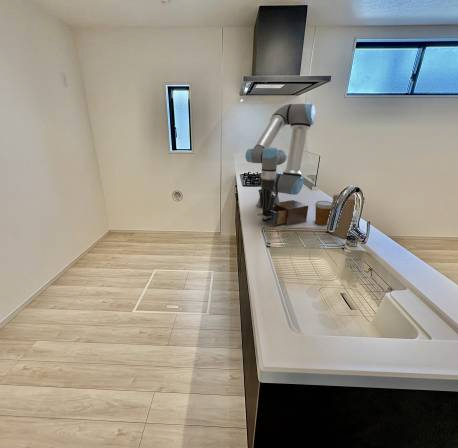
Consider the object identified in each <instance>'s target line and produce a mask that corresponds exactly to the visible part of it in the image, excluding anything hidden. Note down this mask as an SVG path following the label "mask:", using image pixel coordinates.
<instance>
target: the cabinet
mask: <svg viewBox="0 0 458 448" xmlns="http://www.w3.org/2000/svg"><path fill="white" fill-rule="evenodd" d="M274 206H279V207H281V208H283V209H286V210H287V219H286V223H282V224H283V225H285V226H291V225H296V224H300V223H304V222H307V219H308V212H309V205H307V204H305V203H303V202H300V201H298V200H294V199H291V200H285V201H279V202H278V203H274Z"/></svg>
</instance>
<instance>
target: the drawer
mask: <svg viewBox="0 0 458 448" xmlns="http://www.w3.org/2000/svg"><path fill="white" fill-rule="evenodd" d="M261 209H262V208H261ZM256 215H257V216H258V217H260V218H261V220H262V219H263V218H264V219H267V218H268V221H265V222H264V223H267V224H269V225H270V226H272V227H276V226H278V225H282V224H283V223H286V219H287V210H286V209H283V208H281V207H279V206H273V208H272V210H269V216H268V217H266V216H264V215H263V209H262V210H261V212H257V214H256Z"/></svg>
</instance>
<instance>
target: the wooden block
mask: <svg viewBox="0 0 458 448" xmlns="http://www.w3.org/2000/svg"><path fill="white" fill-rule="evenodd" d="M339 194H340V193H338V194H337V193H336V194H333V197H332V202H331V203H332V207H331V210H332V208H333V205H334V204H335V201H336V199H337V198H338V196H339ZM352 194H353V195H351V196H350V198H349V199H348V200H347V202H346V204H345V205H344V207H343V209H342V212H341V215H340V218H339V221H338V227H337V230H336V231H334V232H329V231H328V230H327V229H326V232H328V233H330V234H332V235H334V236H336V237H339V238H341V239H347V238H348V237H347V233H348V230H349V228H350V225H351V222H352V218H353V211H354V205H355V195H356V194H354V193H352ZM362 197H363V200H364V201H363V205H364V203H365V200H366V198H365V197H366V196H362Z"/></svg>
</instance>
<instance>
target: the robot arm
mask: <svg viewBox="0 0 458 448" xmlns="http://www.w3.org/2000/svg"><path fill="white" fill-rule="evenodd" d="M315 122H316V107H315V104H313V103H311V102H303V103H288V104H285V105H283V106H281V107H279V108H278V109H277V110H275V112H273V114H272V115H271V117H270V118H269V123H268V125H267V126H266V128H265V129H264V131H263V133H262V135H260V137H259V139H258V140H257V142H256V143H255V145H254V147H252V148H248V149H246V151H245V155H244V156H245V157H244V158H245V160H246V162H247V163H251V164H261V173H260V174H261V175H260V177H261V179H260V189H258V194H259V198H258V200H257V207H259V208H261V209H263V215H264V216H266V217H268V216H269V210H272V208H273V206H274V203H278V202H280V198H279V194H284V195H285V194H286V195H290V196H291V195H293V196H297V195H298V194H299V193H300V192H301V191H302V189H303V186H304V183H305V182H304V180H305V179H304V177H303V176H302V172H301V167H302V166H301V165H302V161H303V156H304V149H305V144H306V137H307V132H308V131H309V130H310V129H311V126H313V125H314V124H315ZM288 125H289V126H290V129H291V136H290V142H289V150H288V153H287V152H286V151H285V150H284V149H279V148H278V147H271V145H272V144H273V142H274V141H275V139H276V137H277V136H278V134H279V132H280V130H282V129H283V128H284V127H285V126H288ZM285 162H286V166H285V170H284V171H282V174H281V172H280V171H277V169H278V168H277V167H278V166H280V165H282V164H284V163H285ZM261 221H262V222H264V223H266V222H265V221H268V218H267V219H264V218H263V219H262V218H261Z"/></svg>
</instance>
